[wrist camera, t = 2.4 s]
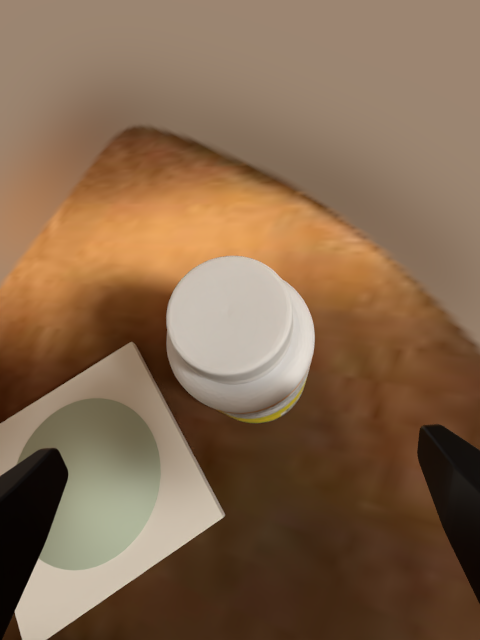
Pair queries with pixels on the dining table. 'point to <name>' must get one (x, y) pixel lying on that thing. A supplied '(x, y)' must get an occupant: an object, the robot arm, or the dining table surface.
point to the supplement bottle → (239, 339)
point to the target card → (106, 488)
